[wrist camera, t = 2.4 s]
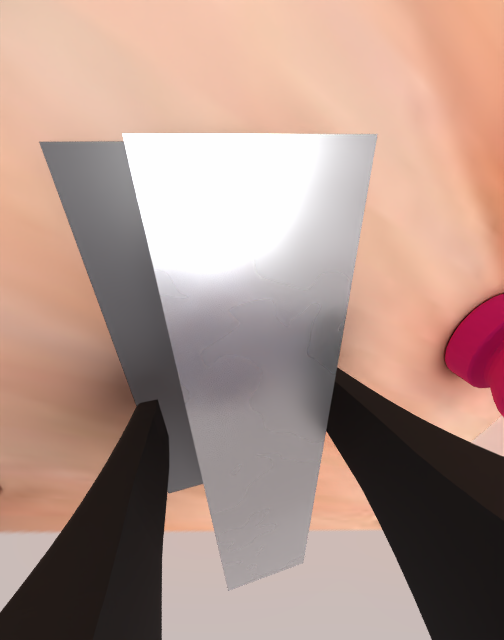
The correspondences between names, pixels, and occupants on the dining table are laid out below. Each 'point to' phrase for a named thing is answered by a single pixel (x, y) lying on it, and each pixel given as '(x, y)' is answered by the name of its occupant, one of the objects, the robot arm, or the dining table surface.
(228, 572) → the bar
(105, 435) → the dining table surface
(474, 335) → the pepper mill
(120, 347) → the board
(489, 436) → the milk
